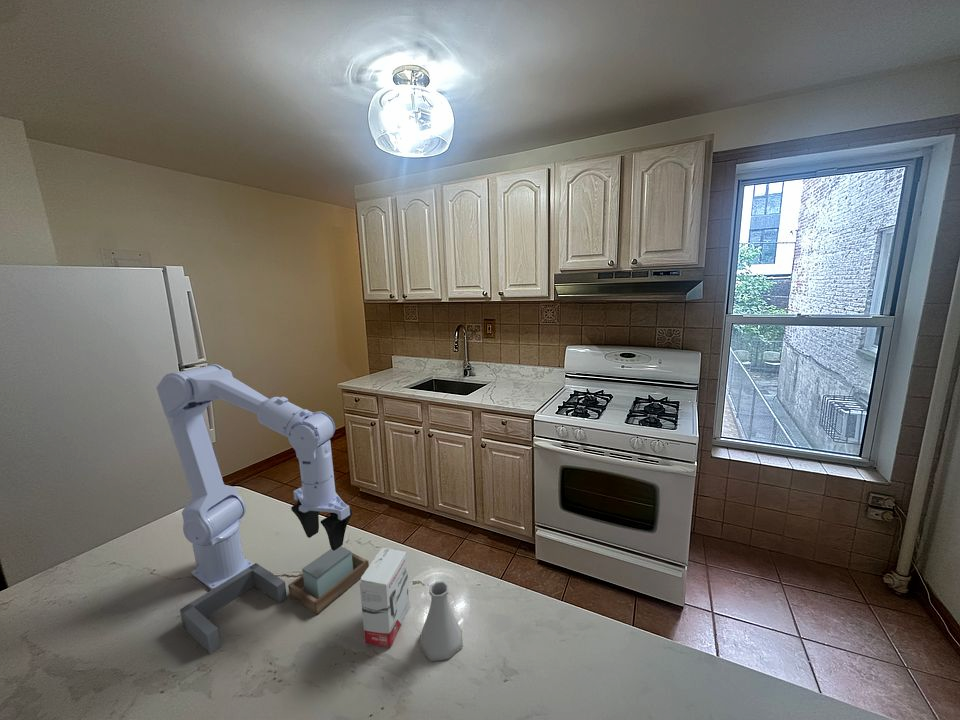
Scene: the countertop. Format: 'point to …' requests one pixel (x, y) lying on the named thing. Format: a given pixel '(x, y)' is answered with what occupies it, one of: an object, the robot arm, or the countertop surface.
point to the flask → (440, 626)
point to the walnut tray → (332, 594)
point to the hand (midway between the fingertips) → (324, 540)
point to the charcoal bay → (221, 596)
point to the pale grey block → (327, 571)
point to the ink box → (384, 596)
